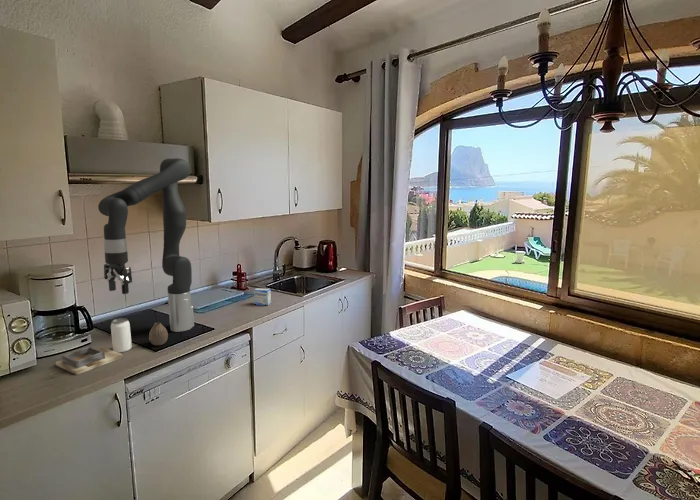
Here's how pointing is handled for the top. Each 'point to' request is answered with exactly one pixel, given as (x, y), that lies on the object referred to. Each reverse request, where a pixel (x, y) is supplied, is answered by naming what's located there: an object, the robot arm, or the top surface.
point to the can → (121, 335)
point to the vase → (158, 334)
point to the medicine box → (262, 296)
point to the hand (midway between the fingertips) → (118, 292)
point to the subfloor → (87, 359)
